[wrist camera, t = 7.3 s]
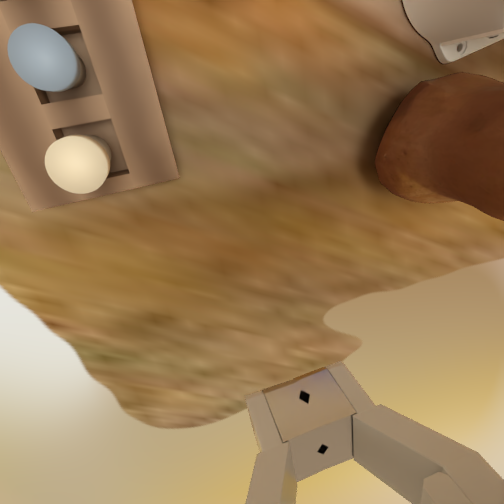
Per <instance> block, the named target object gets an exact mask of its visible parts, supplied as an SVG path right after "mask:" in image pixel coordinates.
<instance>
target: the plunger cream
mask: <svg viewBox="0 0 504 504" xmlns="http://www.w3.org/2000/svg"><path fill="white" fill-rule="evenodd" d="M111 157H112V155H111V150H110V147H109V146H108V144H107V143H106V142H105V141H104V140H103V139H102V138H100V137H98V136H95V135H69V136H66V137H64V138H61V139H59V140H57V141H55V142H54V143H52V144H51V145H50V147H49V148H48V150H47V152H46V155H45V167H46V170H47V173H48V175H49V177H50V178H51V179H52V180H53V182H54V183H55V184H57V185H58V186H59V187H60V188H62V189H64V190H66V191H68V192H72V193H76V194H85V193H90V192H93V191H95V190H96V189H98V188H99V187H100V186H101V185H102V184H103V183H104V181H105V179H106V178H107V176H108V174H109V171H110V161H111Z"/></svg>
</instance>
